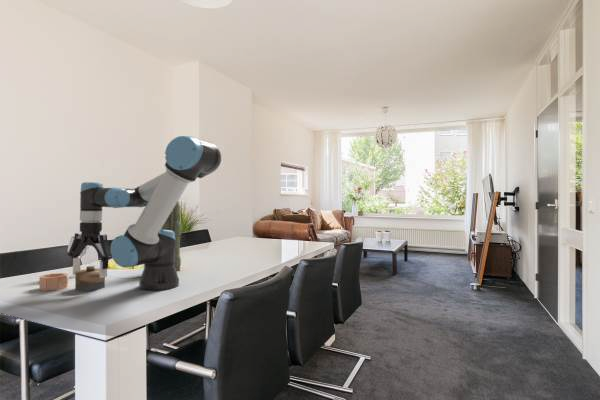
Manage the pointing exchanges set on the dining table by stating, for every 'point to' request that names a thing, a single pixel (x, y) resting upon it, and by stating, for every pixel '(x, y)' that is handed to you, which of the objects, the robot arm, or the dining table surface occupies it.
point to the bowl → (53, 281)
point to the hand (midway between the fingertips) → (89, 275)
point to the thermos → (175, 226)
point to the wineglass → (80, 254)
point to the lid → (88, 276)
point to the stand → (90, 286)
